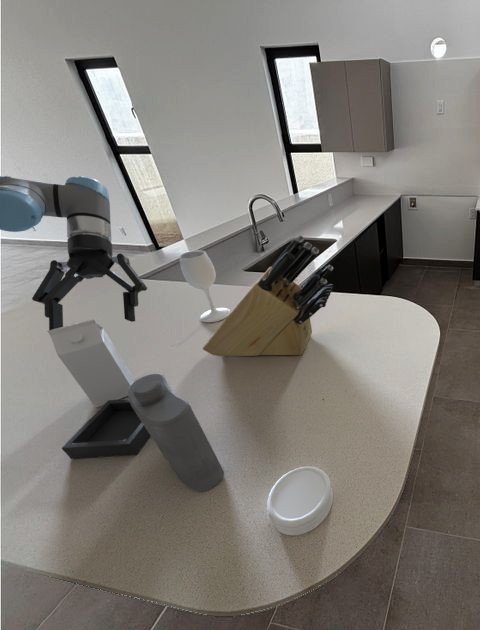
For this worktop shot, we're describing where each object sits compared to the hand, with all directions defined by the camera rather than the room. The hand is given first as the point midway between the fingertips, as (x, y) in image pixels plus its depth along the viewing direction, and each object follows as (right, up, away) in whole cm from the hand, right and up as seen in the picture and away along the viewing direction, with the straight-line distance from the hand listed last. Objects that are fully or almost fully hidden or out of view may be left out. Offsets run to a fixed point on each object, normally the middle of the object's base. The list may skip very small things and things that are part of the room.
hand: (94, 325), depth 75 cm
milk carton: (+2, -16, +3) cm, 16 cm away
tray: (+13, -22, -6) cm, 26 cm away
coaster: (+54, -30, -19) cm, 64 cm away
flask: (+31, -26, -13) cm, 42 cm away
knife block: (+34, -6, +19) cm, 39 cm away
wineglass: (+7, +2, +33) cm, 34 cm away
